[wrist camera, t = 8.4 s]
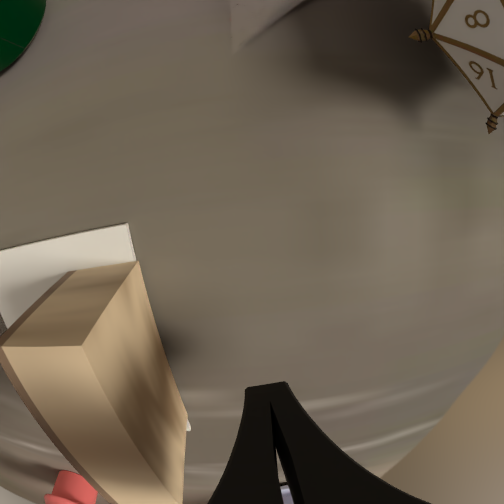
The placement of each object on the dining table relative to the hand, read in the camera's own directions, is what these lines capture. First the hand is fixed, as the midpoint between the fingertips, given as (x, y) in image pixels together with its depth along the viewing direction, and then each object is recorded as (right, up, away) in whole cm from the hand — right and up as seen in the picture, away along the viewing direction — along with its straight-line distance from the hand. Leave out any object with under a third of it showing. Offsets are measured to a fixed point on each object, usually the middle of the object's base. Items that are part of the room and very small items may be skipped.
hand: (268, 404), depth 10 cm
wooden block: (-6, 0, +4) cm, 7 cm away
